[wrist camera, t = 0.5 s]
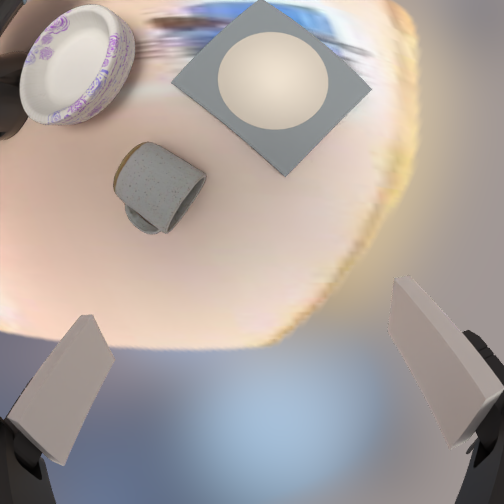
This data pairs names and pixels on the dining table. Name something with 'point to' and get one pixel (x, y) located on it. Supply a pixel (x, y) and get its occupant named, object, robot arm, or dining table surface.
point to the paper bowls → (76, 66)
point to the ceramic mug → (156, 187)
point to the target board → (272, 84)
